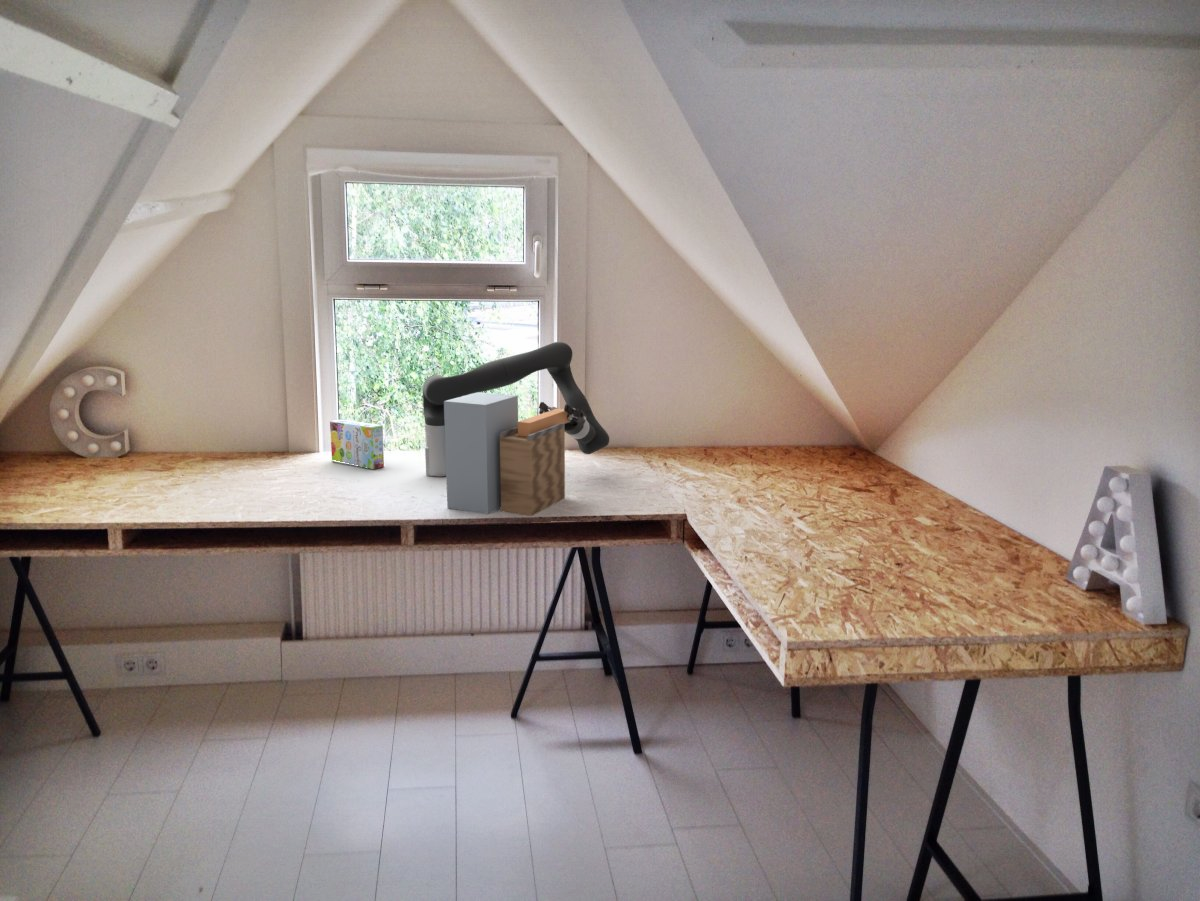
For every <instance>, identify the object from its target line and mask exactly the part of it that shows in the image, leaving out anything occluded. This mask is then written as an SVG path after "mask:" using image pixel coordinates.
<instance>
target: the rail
mask: <svg viewBox="0 0 1200 901" xmlns="http://www.w3.org/2000/svg"><path fill="white" fill-rule="evenodd" d="M567 418H568V417H567V413H566V412H565V411H564V408H558V409H554V410H551V411H550V410H549V411H548V412H545V413H542V414H539V413H538V414H536V415H534V416H531V417H528V418H525V419H521V420H518V435H519V436H527V435H530V434H532V433H535V432H538V431H541V430H543V429H546V428H549V427H551V426H554V425H557V424H560V423H568V420H567Z"/></svg>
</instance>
